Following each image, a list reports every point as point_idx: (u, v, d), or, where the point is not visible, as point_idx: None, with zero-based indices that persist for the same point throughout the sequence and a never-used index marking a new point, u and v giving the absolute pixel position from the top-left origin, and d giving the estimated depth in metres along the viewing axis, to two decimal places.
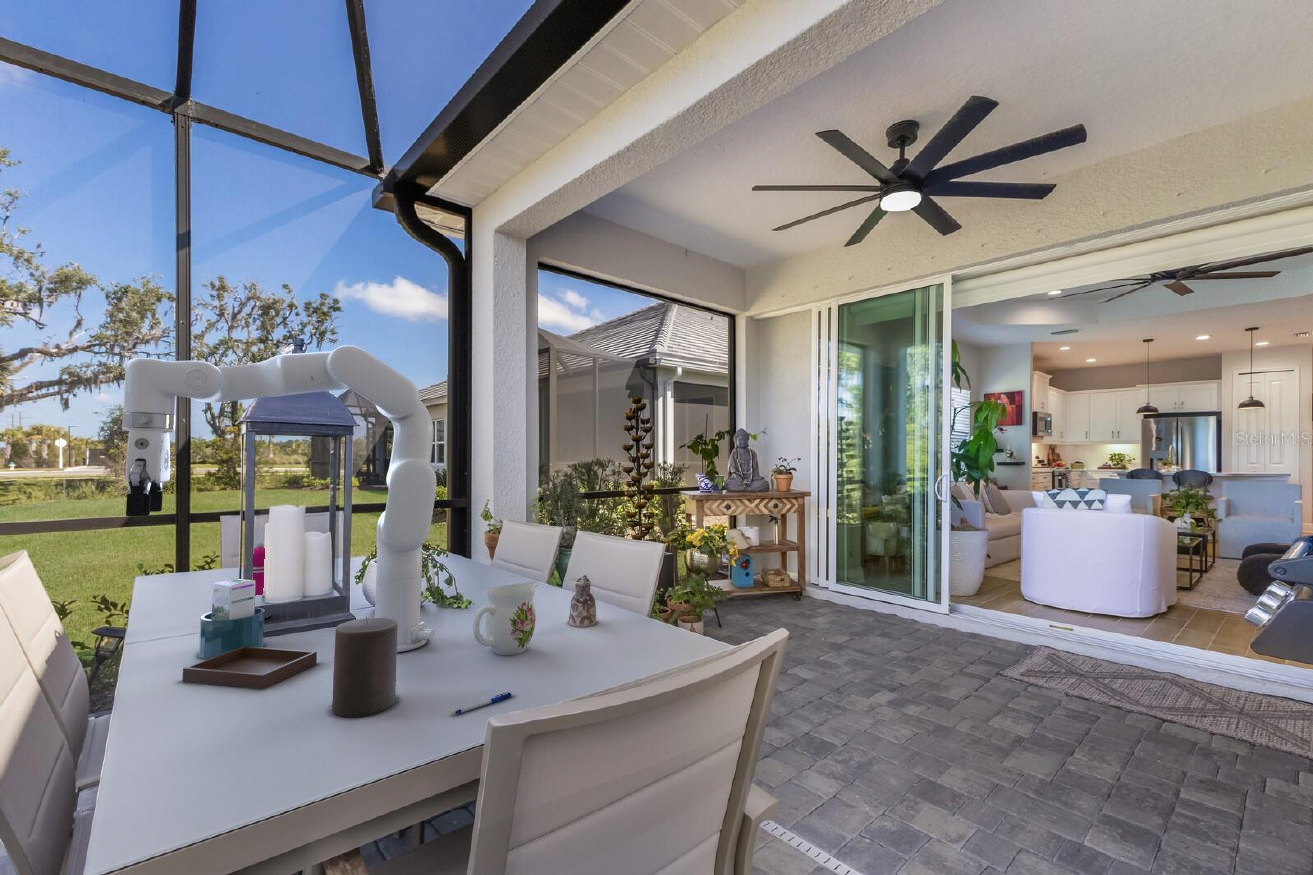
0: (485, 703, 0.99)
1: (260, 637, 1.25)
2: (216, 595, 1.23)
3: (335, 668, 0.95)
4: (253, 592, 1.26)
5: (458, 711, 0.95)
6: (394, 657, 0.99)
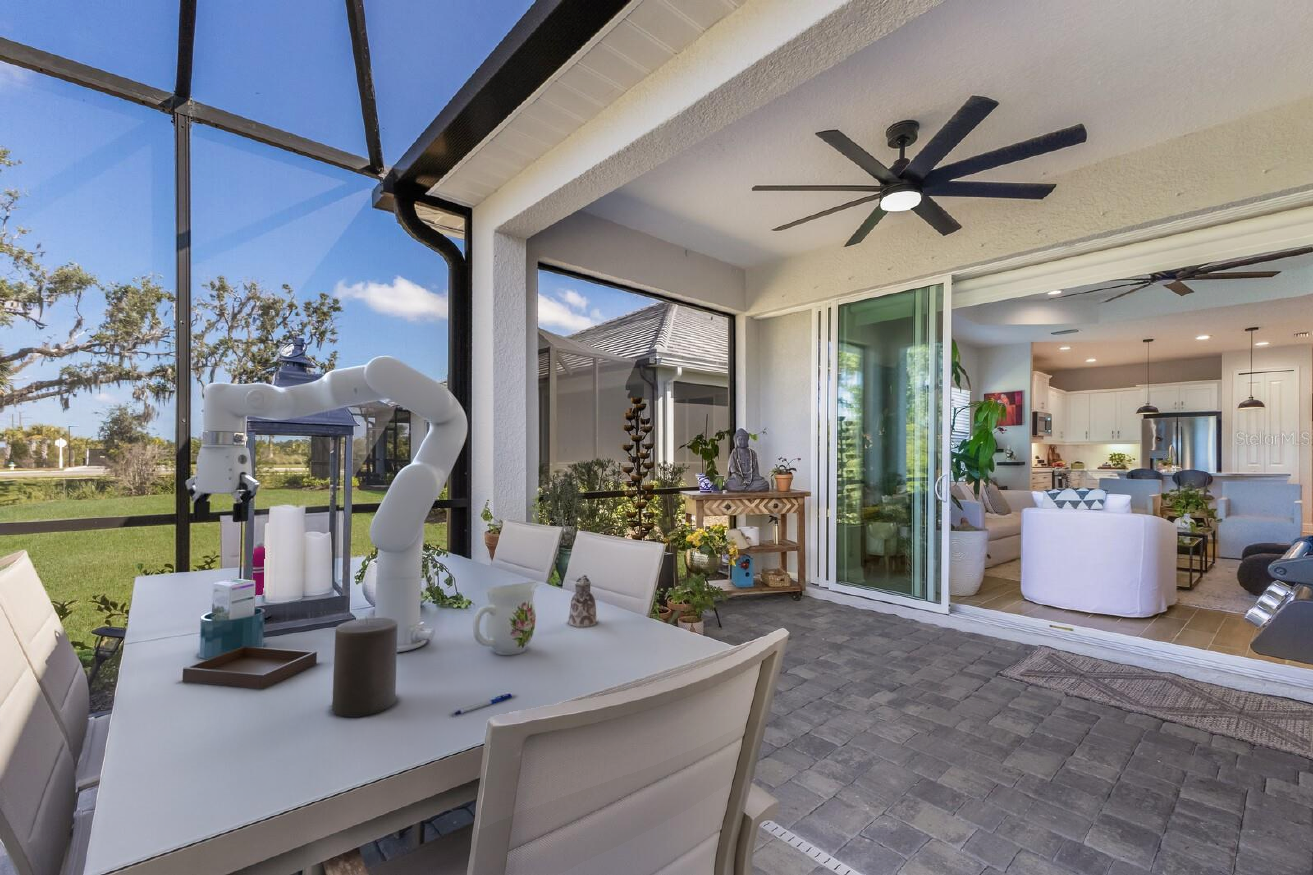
0: (485, 704, 0.99)
1: (260, 637, 1.25)
2: (216, 595, 1.23)
3: (335, 668, 0.95)
4: (253, 592, 1.26)
5: (458, 712, 0.95)
6: (394, 657, 0.99)
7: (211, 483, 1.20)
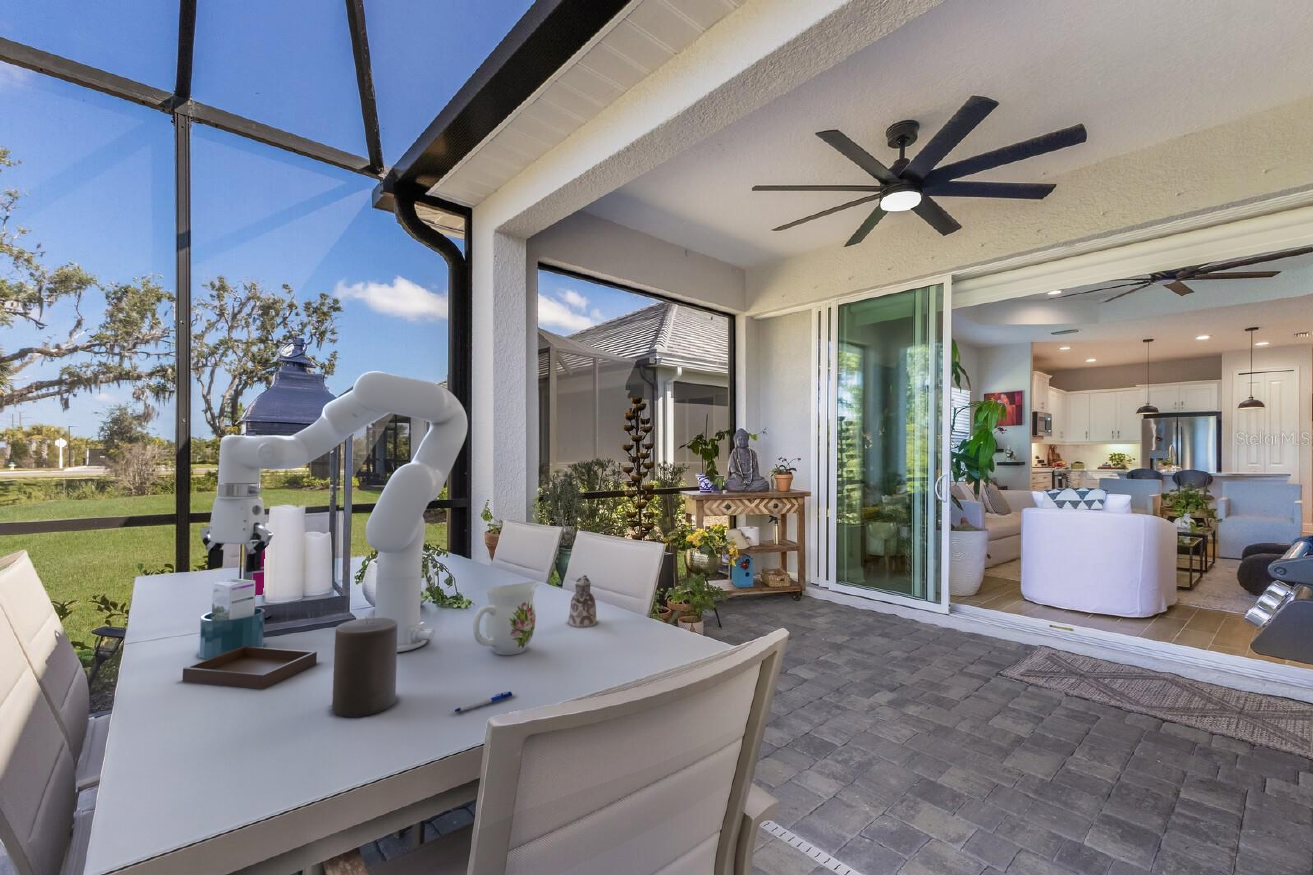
0: (485, 702, 0.99)
1: (260, 637, 1.25)
2: (216, 595, 1.23)
3: (335, 668, 0.95)
4: (253, 592, 1.26)
5: (457, 709, 0.95)
6: (394, 657, 0.99)
7: (225, 534, 1.23)
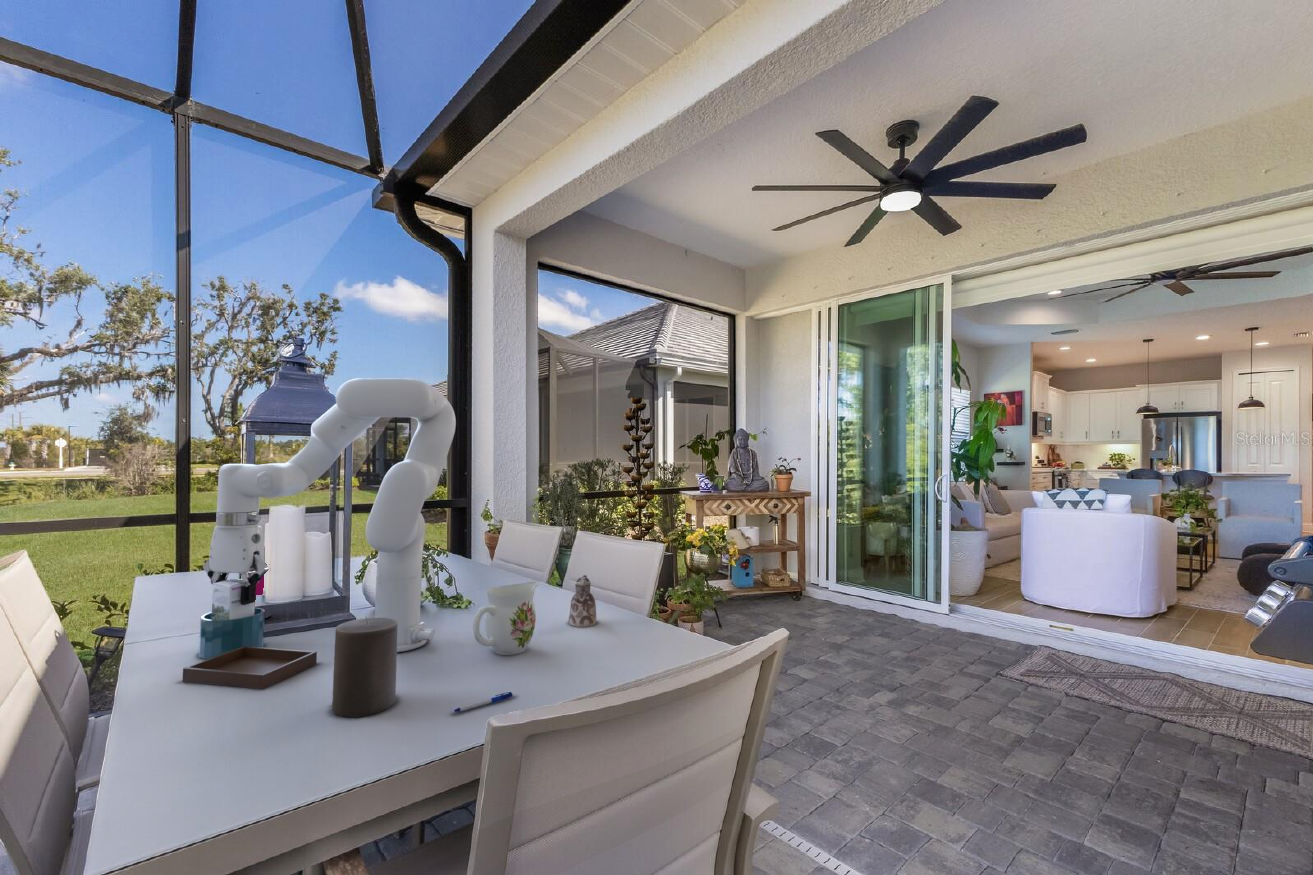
0: (485, 702, 0.99)
1: (260, 637, 1.25)
2: (216, 595, 1.23)
3: (335, 668, 0.95)
4: None
5: (457, 709, 0.96)
6: (394, 657, 0.99)
7: (225, 563, 1.23)
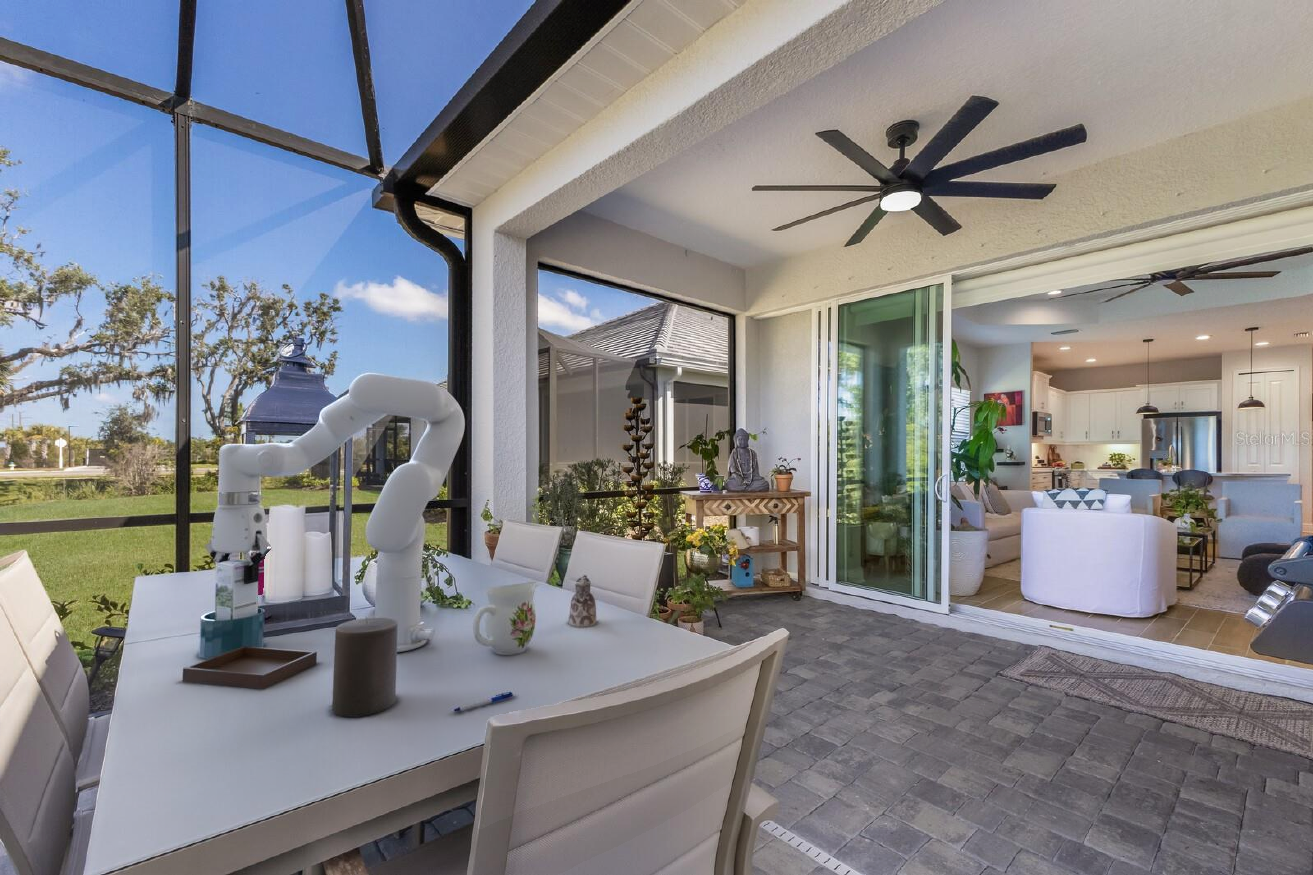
0: (485, 702, 0.99)
1: (260, 637, 1.25)
2: (219, 575, 1.23)
3: (335, 668, 0.95)
4: None
5: (457, 709, 0.96)
6: (394, 657, 0.99)
7: (228, 542, 1.23)
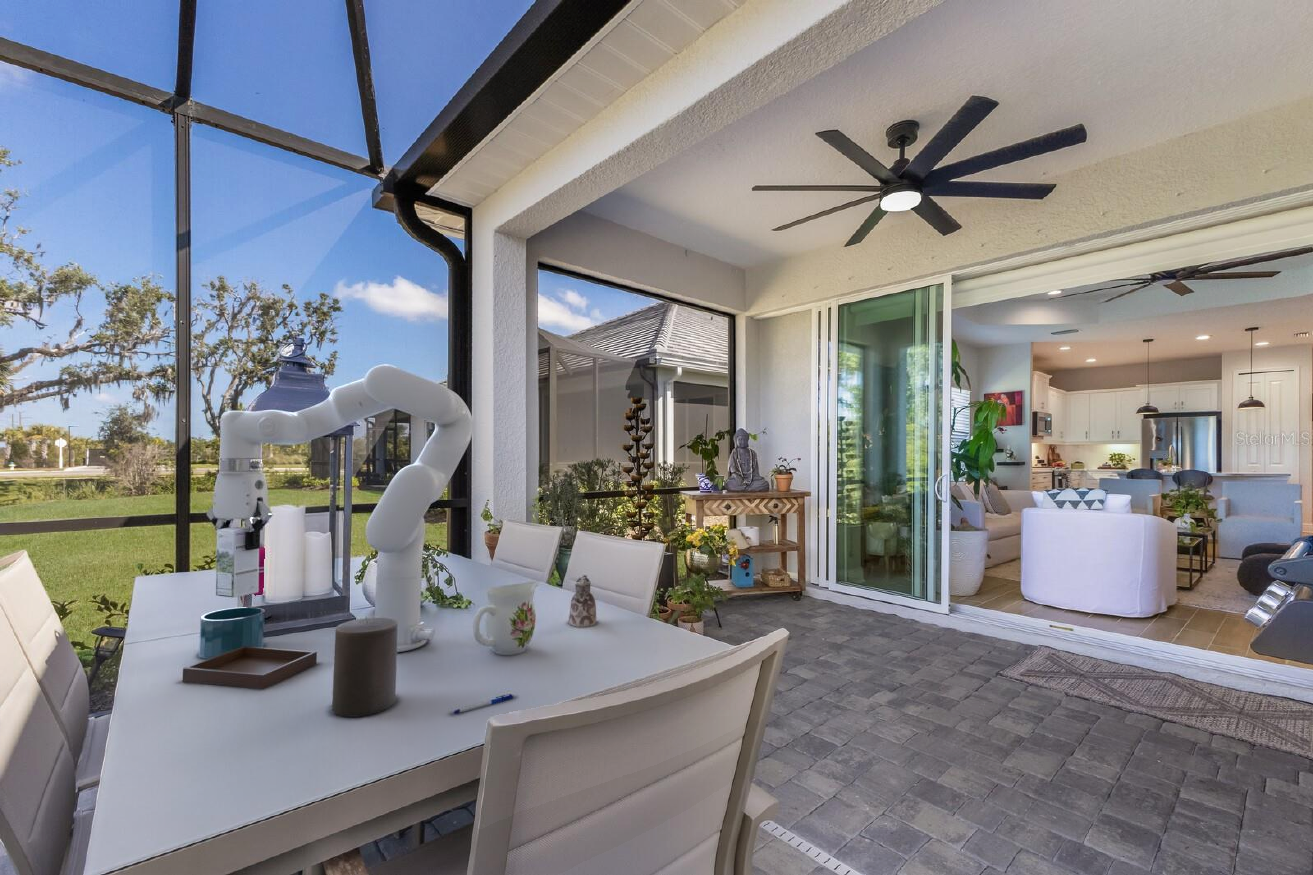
0: (485, 704, 0.99)
1: (260, 637, 1.25)
2: (220, 541, 1.23)
3: (335, 668, 0.95)
4: None
5: (457, 711, 0.96)
6: (394, 657, 0.99)
7: (229, 509, 1.23)
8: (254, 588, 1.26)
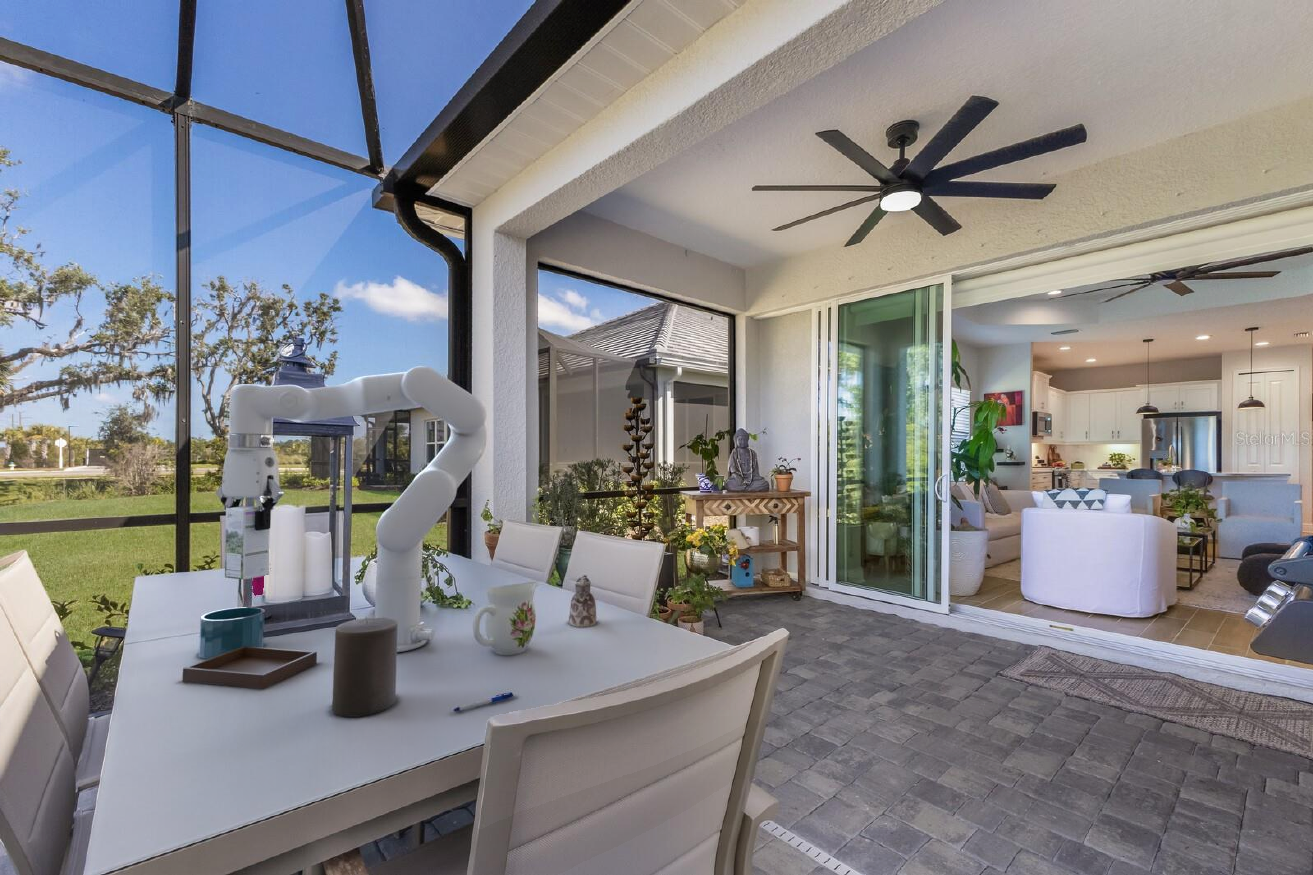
0: (485, 702, 0.99)
1: (260, 637, 1.25)
2: (230, 520, 1.18)
3: (335, 668, 0.95)
4: None
5: (456, 709, 0.96)
6: (394, 657, 0.99)
7: (238, 487, 1.18)
8: (265, 570, 1.20)
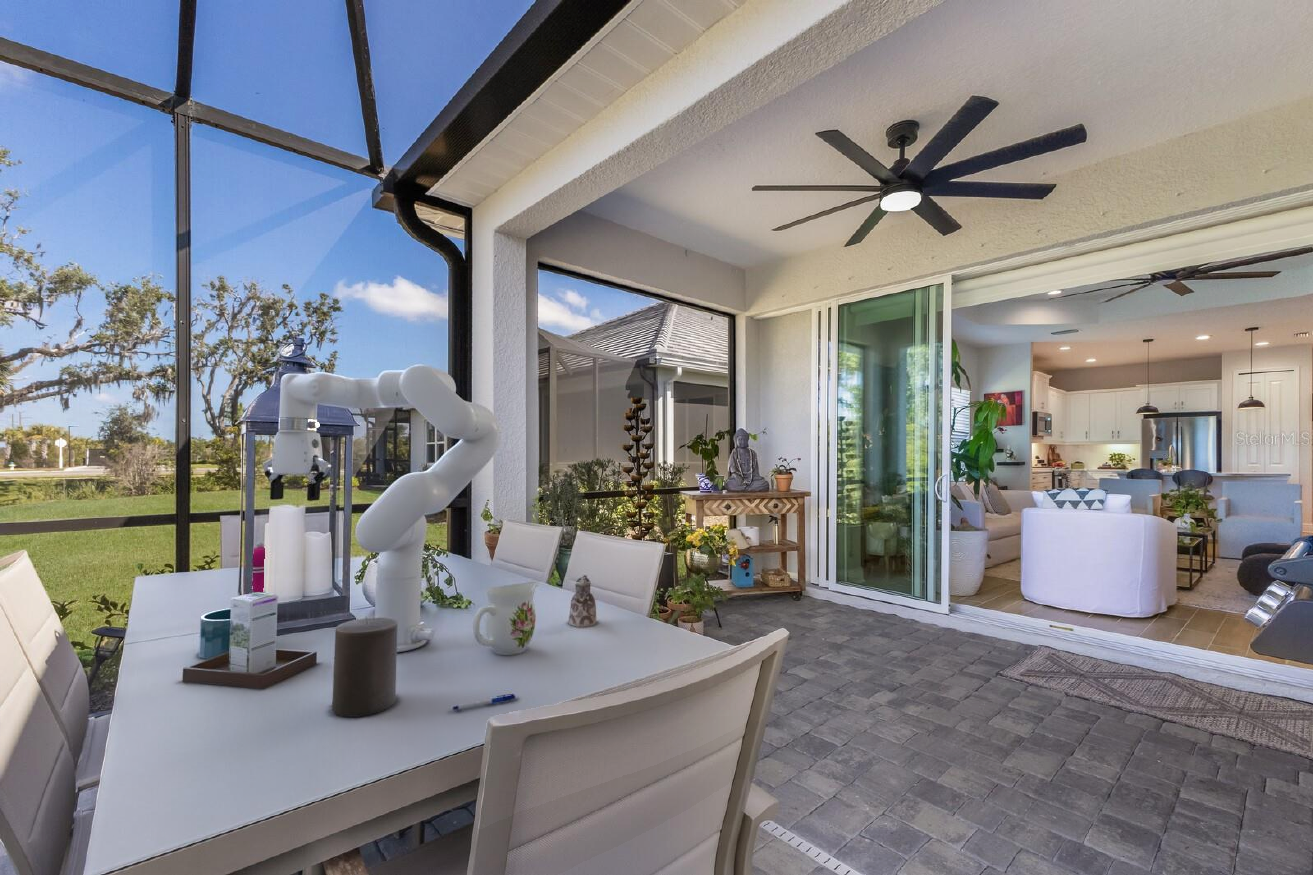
0: (485, 702, 0.99)
1: None
2: (235, 611, 1.10)
3: (335, 668, 0.95)
4: (276, 608, 1.14)
5: (455, 707, 0.96)
6: (394, 657, 0.99)
7: (287, 465, 1.32)
8: (271, 663, 1.13)
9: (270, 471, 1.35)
